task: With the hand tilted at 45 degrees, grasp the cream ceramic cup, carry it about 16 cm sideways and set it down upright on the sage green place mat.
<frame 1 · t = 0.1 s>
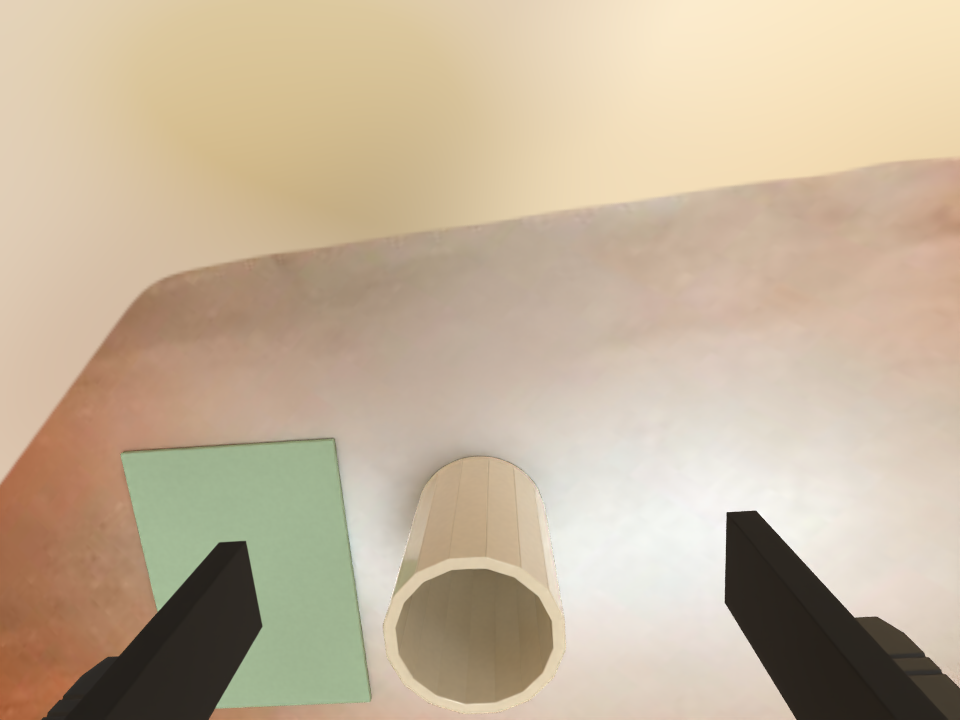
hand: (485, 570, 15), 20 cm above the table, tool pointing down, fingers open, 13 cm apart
cup: (480, 515, 37), on the table
place mat: (253, 580, 39), on the table
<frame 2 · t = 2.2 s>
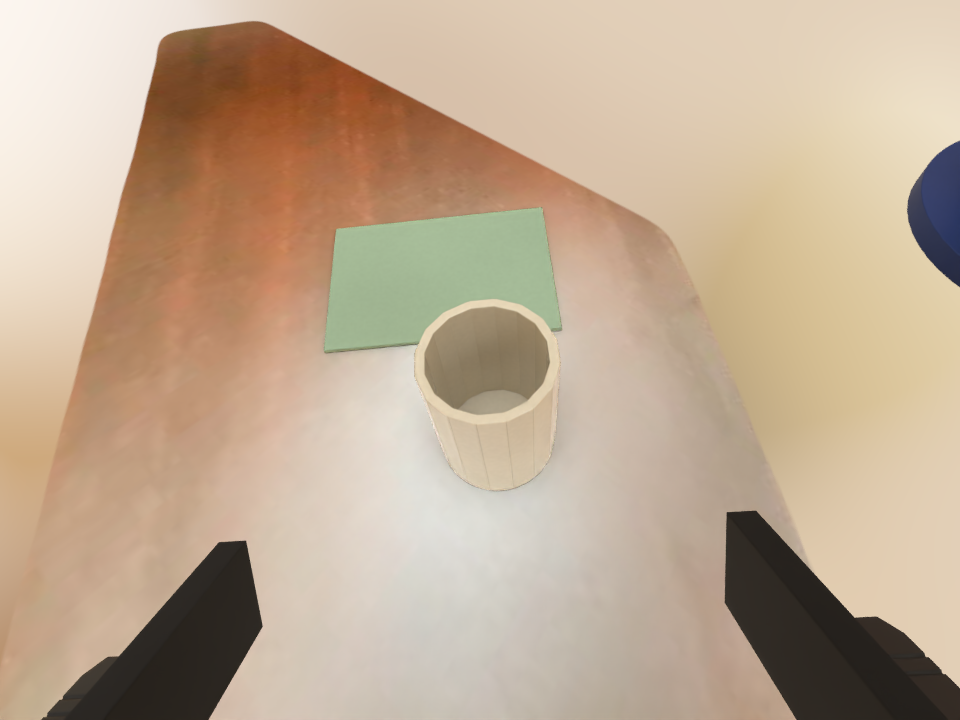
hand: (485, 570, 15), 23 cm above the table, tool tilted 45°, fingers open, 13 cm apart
cup: (497, 436, 42), on the table
place mat: (440, 277, 51), on the table
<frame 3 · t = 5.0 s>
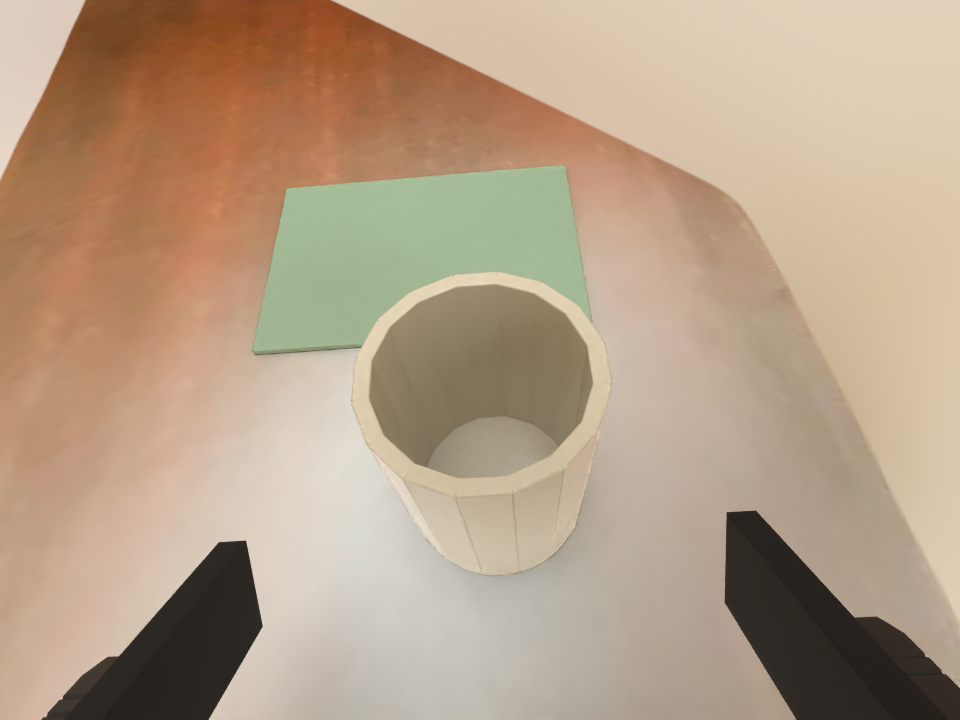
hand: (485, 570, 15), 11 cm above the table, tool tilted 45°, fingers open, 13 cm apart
cup: (496, 487, 28), on the table
place mat: (423, 253, 37), on the table
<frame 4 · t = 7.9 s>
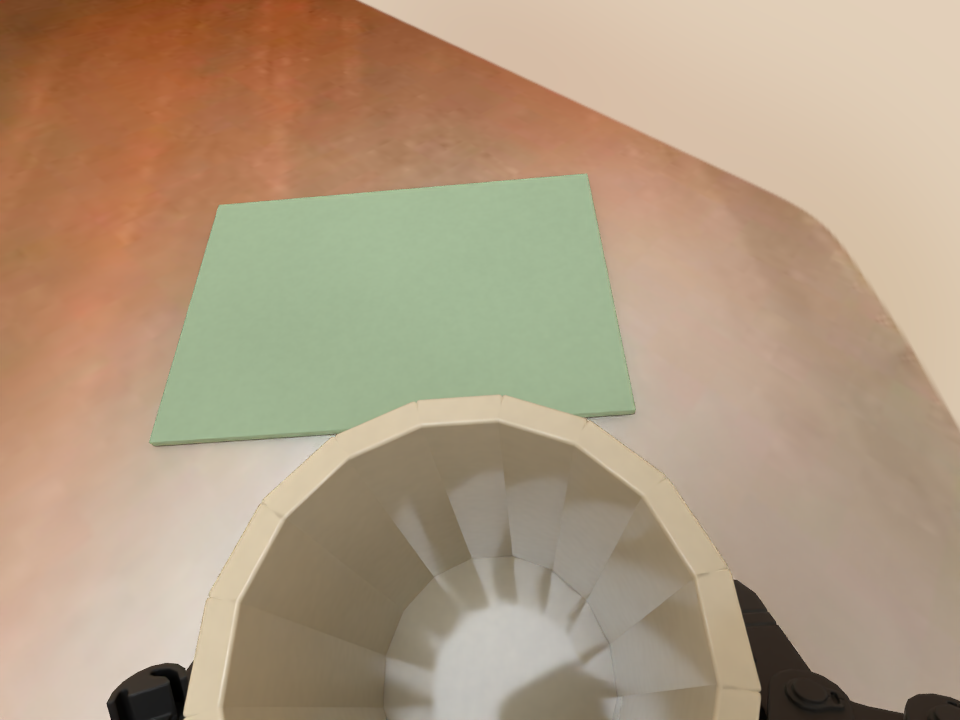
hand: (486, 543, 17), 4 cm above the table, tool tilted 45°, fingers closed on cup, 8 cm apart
cup: (498, 676, 18), on the table, touching gripper
place mat: (396, 296, 27), on the table
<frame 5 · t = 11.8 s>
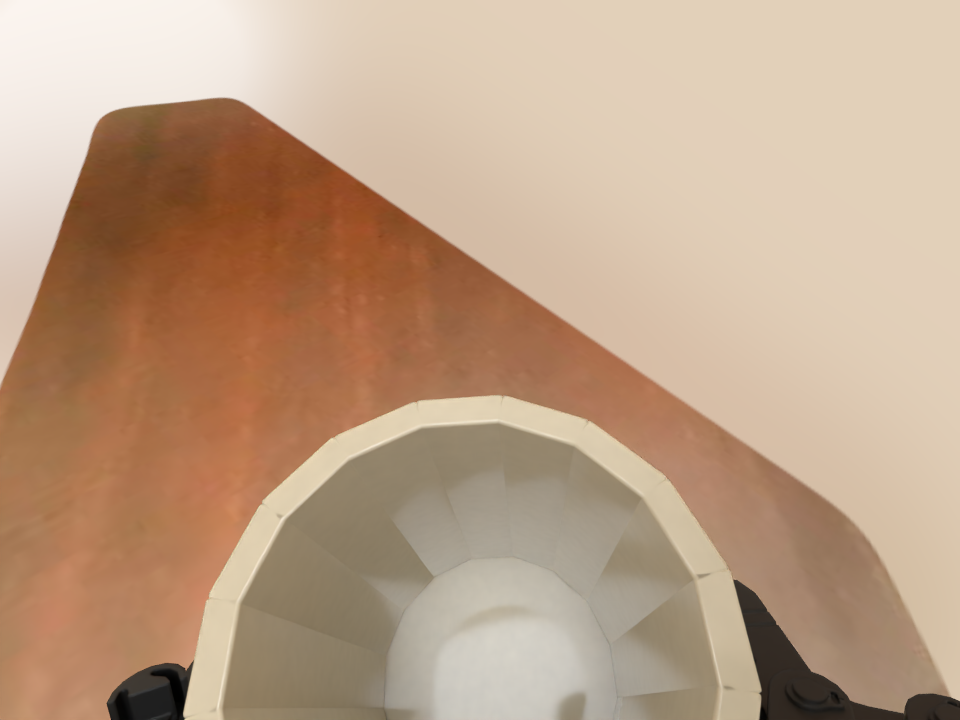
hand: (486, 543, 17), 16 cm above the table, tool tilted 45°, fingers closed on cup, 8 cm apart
cup: (499, 677, 18), point 12 cm above the table, touching gripper
when the fingers open (4 cm above the table, at t = 15.9 s): cup stays where it is, resting on place mat.
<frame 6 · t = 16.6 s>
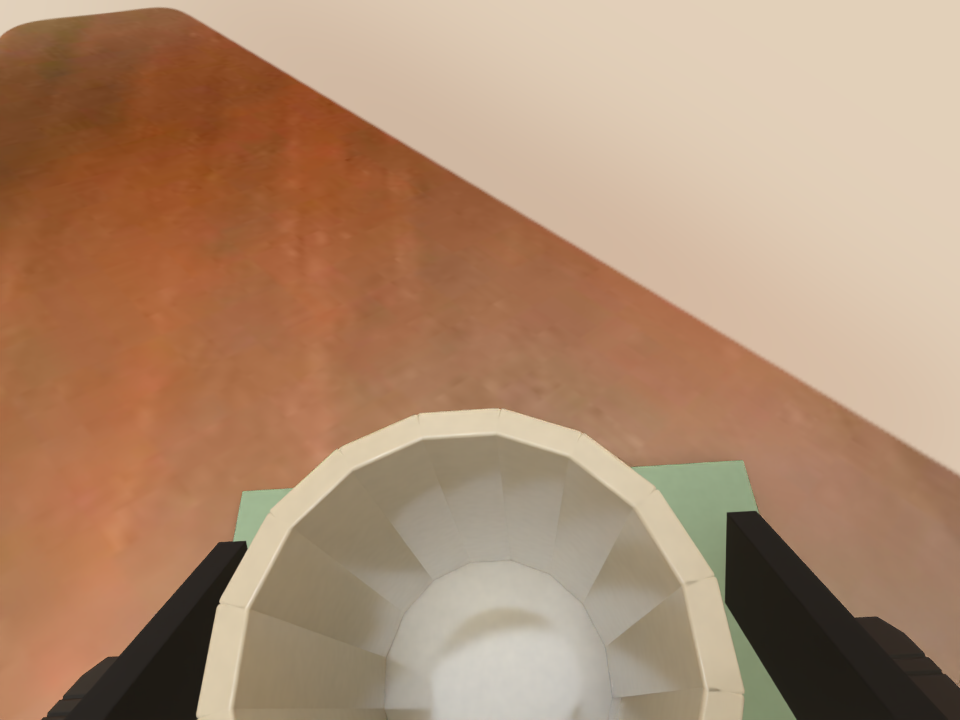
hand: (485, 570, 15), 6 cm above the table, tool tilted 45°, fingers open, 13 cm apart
cup: (496, 678, 19), resting on place mat
place mat: (498, 677, 19), on the table
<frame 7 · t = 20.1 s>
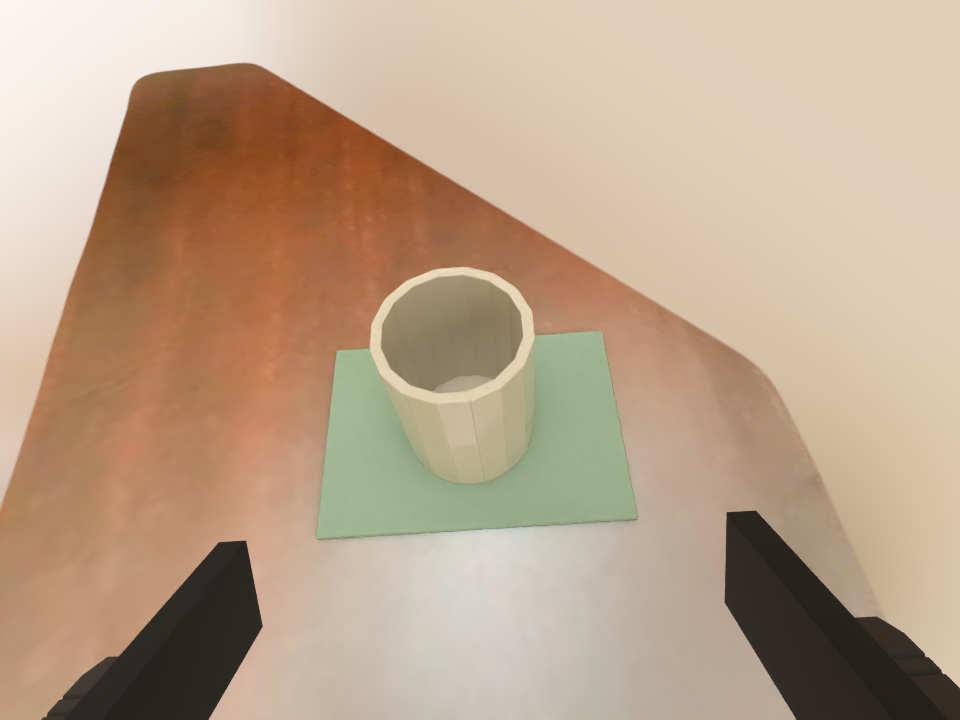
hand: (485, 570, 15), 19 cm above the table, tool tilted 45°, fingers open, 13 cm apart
cup: (470, 425, 39), resting on place mat
place mat: (471, 427, 39), on the table
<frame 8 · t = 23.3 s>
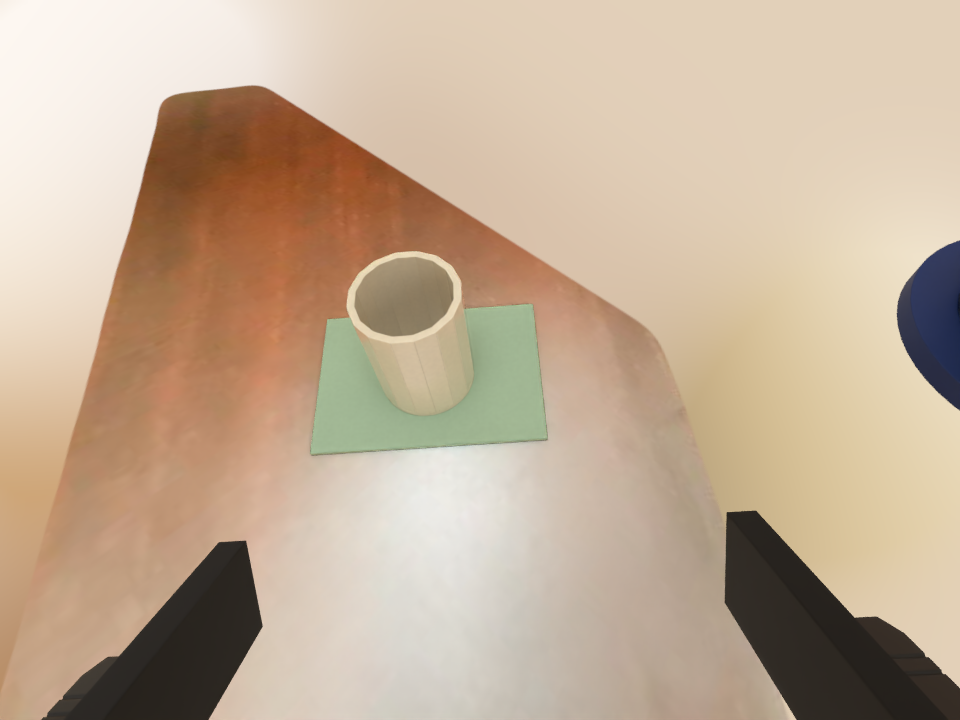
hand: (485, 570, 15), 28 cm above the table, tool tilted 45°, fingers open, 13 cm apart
cup: (428, 374, 51), resting on place mat
place mat: (429, 375, 51), on the table
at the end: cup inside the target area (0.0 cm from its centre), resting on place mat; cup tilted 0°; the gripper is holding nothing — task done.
